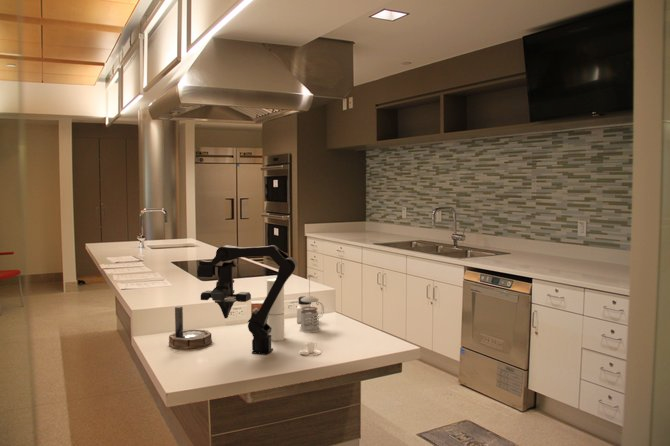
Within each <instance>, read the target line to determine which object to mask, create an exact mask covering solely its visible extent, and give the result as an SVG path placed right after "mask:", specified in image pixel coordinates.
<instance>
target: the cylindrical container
mask: <svg viewBox="0 0 670 446" xmlns="http://www.w3.org/2000/svg"><path fill="white" fill-rule="evenodd" d="M276 278H277V277H276ZM276 278H275V277H274V278H268V279H266V296H267V295H268V293H269V291H270V289H271V288H272V286H273V284H274V282H275V280H276ZM267 324H268V325H269V326H270V327H271V328H272V329H271V332H270V334H269V335H271V342H275V341H276V342H277V341H278V342H279V341H283V340H285V285H284V286H283V288H282V290H281V291H280V293H279V295H278V297H277V299H276V301H275V303H274V304H273V306H272V308H271V310H270V312H269V316H268V320H267Z"/></svg>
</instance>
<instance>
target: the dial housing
mask: <svg viewBox="0 0 670 446" xmlns="http://www.w3.org/2000/svg"><path fill="white" fill-rule="evenodd" d="M188 331H201V332H205V333H206V335H205V336H204V337H201V338H195V339H176V338H175V337H174V336H175V332H173V333H171V334H169V335H168V346H169V347H170V348H171V349H175V350H196V349H200V348H205V347H207V346H209V345H211V344H212V343H213V338H212V332H210V331H208V330H206V329H194V328H193V329H185V330H184V329H183V332H188Z"/></svg>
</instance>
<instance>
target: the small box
mask: <svg viewBox="0 0 670 446" xmlns="http://www.w3.org/2000/svg"><path fill="white" fill-rule="evenodd" d="M264 301H265V300H264V299H263V300H260V299H259V300H251V301H250V303H251V304H250V305H251V306H250V307H251V308H250V316H251V315H252V313H253V312H254V311H255V310H258V311H259V310H260V308H261V306H262V304H263V302H264Z"/></svg>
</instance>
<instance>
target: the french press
mask: <svg viewBox="0 0 670 446" xmlns="http://www.w3.org/2000/svg"><path fill="white" fill-rule="evenodd" d="M306 278H309V279H308V287H309V288H308V289H309V293H308V295H305V296H306V297H303V298H302V299H301V301H302V302H309V307H303V308H302V310H304V311H301V323H300V328H299V329H298V331H299V332H301V333H305V334H306V333H309V334H311V333H318V332H320V331H321V329H320V327H319V322H320V321H319V319H320V318H322V317H323V315H324V312H325V306H324V304H323V303H322V302H320V301H319V298H317V297H316V296H312V295H311V292H310V290H311V289H310V288H311V284H310V279H311V278H312V275H311V274H307V275H306ZM310 302H311V303H315V304H316V305H318V304H320V305H321V313H320V314H319V312H318V307H316V306H313V307H310ZM307 312H310V313H313V314H305V313H307ZM308 318H312V319H308ZM305 319H307V320H305ZM308 321H311V322H308ZM305 322H306V323H305Z"/></svg>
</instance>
